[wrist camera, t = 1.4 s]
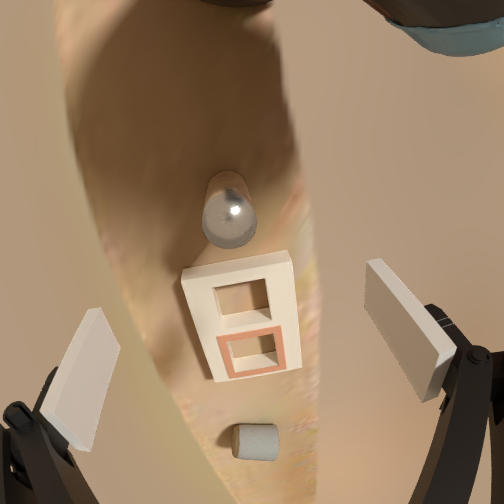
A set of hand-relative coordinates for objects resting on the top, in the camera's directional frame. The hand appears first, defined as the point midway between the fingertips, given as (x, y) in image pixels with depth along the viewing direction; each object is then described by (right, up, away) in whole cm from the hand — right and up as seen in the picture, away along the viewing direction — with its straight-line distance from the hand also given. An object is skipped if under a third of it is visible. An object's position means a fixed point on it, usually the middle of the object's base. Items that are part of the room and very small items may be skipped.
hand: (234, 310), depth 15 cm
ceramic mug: (+1, -33, +41) cm, 52 cm away
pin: (-2, +10, +20) cm, 22 cm away
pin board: (0, -6, +28) cm, 29 cm away
